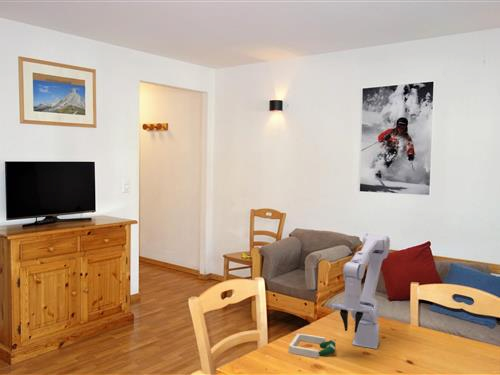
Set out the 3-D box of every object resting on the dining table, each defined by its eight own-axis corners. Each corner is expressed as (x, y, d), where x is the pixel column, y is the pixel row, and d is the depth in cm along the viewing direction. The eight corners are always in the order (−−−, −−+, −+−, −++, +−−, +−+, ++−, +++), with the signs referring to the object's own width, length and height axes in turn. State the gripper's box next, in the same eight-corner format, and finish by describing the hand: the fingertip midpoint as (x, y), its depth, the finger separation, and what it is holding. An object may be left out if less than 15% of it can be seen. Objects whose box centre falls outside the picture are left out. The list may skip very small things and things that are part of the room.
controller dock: (325, 343, 178) (325, 337, 178) (318, 358, 164) (318, 351, 164) (297, 339, 182) (297, 333, 182) (288, 352, 168) (288, 346, 168)
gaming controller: (324, 361, 166) (337, 352, 165) (317, 353, 166) (329, 344, 165) (325, 351, 175) (337, 342, 174) (318, 344, 175) (330, 334, 174)
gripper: (331, 295, 165) (329, 331, 166) (371, 300, 160) (370, 337, 161) (334, 290, 172) (332, 325, 172) (373, 295, 167) (371, 331, 167)
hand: (350, 330), depth 167 cm, fingers open, 3 cm apart
